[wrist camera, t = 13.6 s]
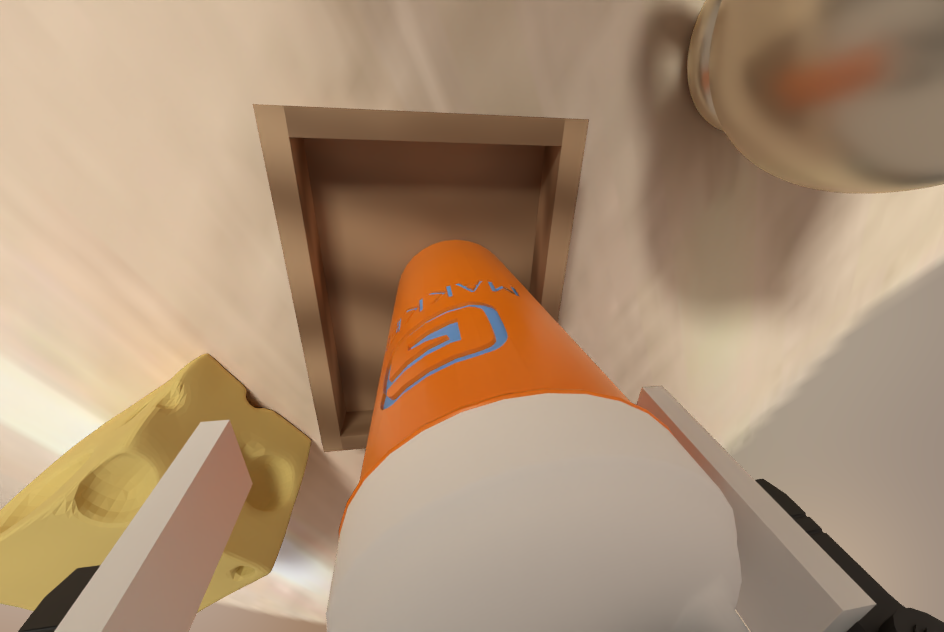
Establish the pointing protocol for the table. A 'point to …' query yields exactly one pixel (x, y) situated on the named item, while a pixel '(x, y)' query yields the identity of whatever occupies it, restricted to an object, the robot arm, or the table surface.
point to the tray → (405, 224)
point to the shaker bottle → (520, 480)
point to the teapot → (826, 89)
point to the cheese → (151, 487)
